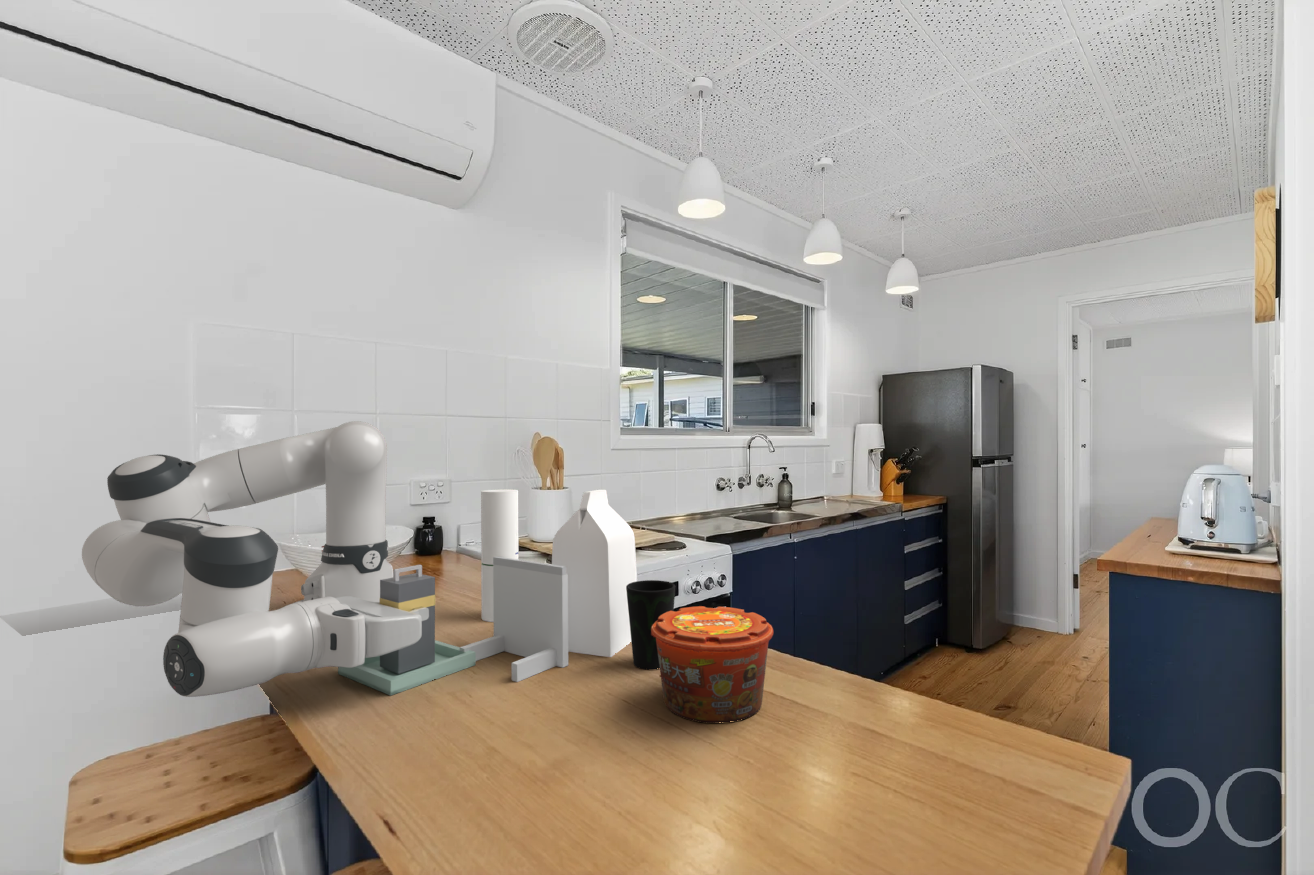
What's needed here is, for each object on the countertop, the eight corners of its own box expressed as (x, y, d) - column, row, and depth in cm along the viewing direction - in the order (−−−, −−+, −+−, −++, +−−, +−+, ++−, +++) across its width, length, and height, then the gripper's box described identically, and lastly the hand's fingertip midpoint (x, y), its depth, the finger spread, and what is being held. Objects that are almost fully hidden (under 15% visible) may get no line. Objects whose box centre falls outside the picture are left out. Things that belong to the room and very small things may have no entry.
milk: (610, 657, 97) (609, 494, 98) (548, 648, 102) (547, 492, 102) (640, 635, 109) (639, 489, 109) (583, 628, 113) (582, 487, 113)
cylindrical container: (523, 612, 124) (522, 489, 125) (511, 622, 117) (511, 492, 117) (489, 611, 125) (489, 489, 125) (475, 621, 118) (475, 492, 118)
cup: (652, 651, 100) (651, 577, 100) (686, 662, 95) (685, 585, 95) (616, 663, 95) (615, 585, 95) (650, 676, 89) (650, 594, 89)
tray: (338, 673, 91) (338, 660, 91) (422, 648, 102) (422, 636, 102) (390, 695, 83) (390, 680, 83) (475, 665, 94) (475, 652, 94)
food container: (687, 741, 70) (686, 647, 70) (632, 691, 84) (632, 612, 84) (800, 714, 76) (799, 628, 76) (731, 672, 91) (730, 599, 91)
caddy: (379, 666, 92) (379, 568, 92) (416, 655, 97) (416, 562, 97) (398, 674, 89) (398, 572, 89) (435, 661, 94) (435, 566, 94)
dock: (454, 661, 96) (453, 564, 96) (499, 646, 103) (498, 556, 103) (523, 684, 87) (523, 576, 87) (568, 665, 94) (567, 566, 94)
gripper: (284, 641, 88) (376, 618, 99) (359, 670, 76) (453, 641, 88) (284, 597, 88) (376, 580, 100) (359, 620, 76) (453, 597, 88)
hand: (413, 609), depth 93 cm, fingers open, 5 cm apart
